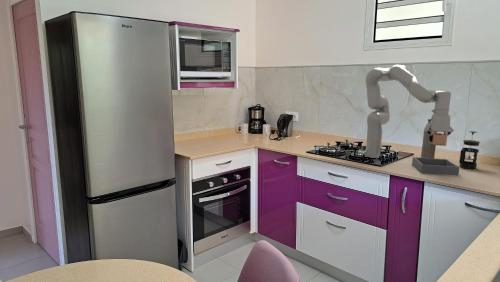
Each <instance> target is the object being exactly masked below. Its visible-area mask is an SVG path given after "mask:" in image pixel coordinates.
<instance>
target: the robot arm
mask: <svg viewBox="0 0 500 282" xmlns="http://www.w3.org/2000/svg"><path fill="white" fill-rule="evenodd" d="M417 79H418V78H417V76H415V75H414V74H413V73H411V71H409V68H408V67H407V66H406V65H403V64H402V65H401V64H394V65H392V66H391V67H385V68H384V67H375V68H372V69H370V70H369V71H368V72H367V74H366V75H365V87H366V97H367V98H366V99H367V106H368V107H369V109H371V110H374V111H372V112H370V113H369V114H368V116H367V117H366V118H367V119H366V123H367V128H366V129H367V131H366V143H365V149H364V150H358V152H357V153H358V154H359V155H360V154H361V155H365V157H367V156H368V157H370V158H377V157H379V156H381V148H382V138H383V125H386V124H387V123H389V121H390V107H389V106H390V104H389V101H388V98H387V97H386V95H383V94H381V87H380V84H379V82H389V81H396V82H397V83H399V84H400V85H402V86H403V87H404V88H405V89H406V90H407V92H408V93H409V94H410V95H411V96H412V97H414V98H415V99H417V100H418V101H419V102H421V103H424V104H428V103H434V109H432V110H431V113H433V114H432V115H431V117H430V119H431V121H430V125H428V126H427V127H426V126H425V127H426V128H425V127H424V128H425V130H426V131H427V133H428V134H429V141H430V142H432V141H433V133H434V132H438V133H443V134H445V135H447V137H449V135H451V134H452V133H453V132H454V131H455V129H453V128H452V126H451V115H450V114H449V111H450V103H451V98H452V92H451V91H448V90H436V89H427V88H425V87H424V86H422V85H421V84H420V83H419V82H418V80H417ZM428 129H430V130H431V131H429V130H428Z"/></svg>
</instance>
